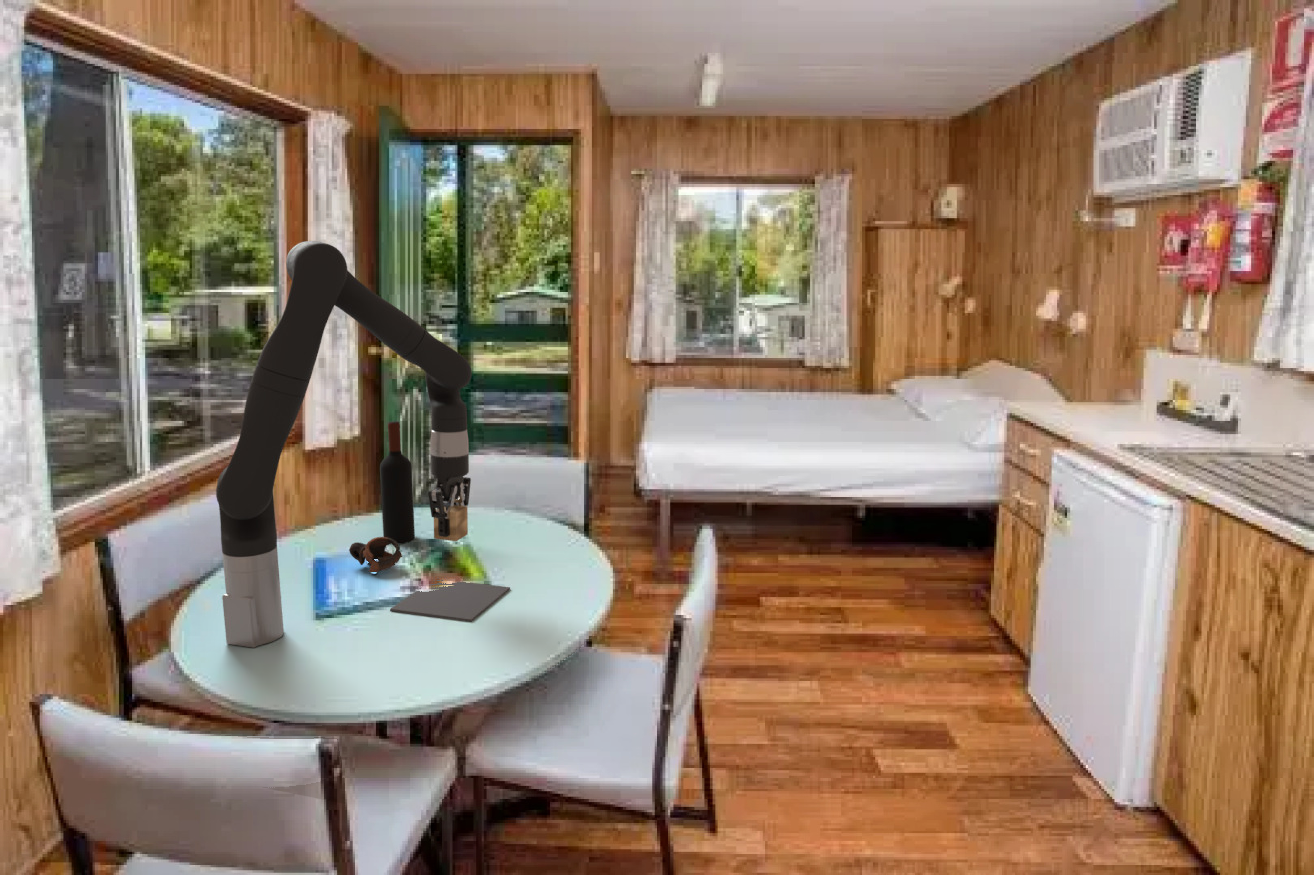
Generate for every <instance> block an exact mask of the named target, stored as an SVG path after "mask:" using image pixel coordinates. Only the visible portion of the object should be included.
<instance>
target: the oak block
mask: <svg viewBox="0 0 1314 875" xmlns="http://www.w3.org/2000/svg"><path fill="white" fill-rule="evenodd" d="M444 510H445V511H446V507H444ZM436 512H437V508H436ZM468 514H469V513H468V506H458V505H454V506H453V508H451V510H450V517H449V519H450V535H449V536H447V537H443V536H439V534H438V518H434V517H433V539H434V540H443V541H451V542H457V541H459V540H461V539H462V538H464V537H465V536H468V535H469V534H468V528H469V527H468V525H469V523H468V518H469V517H468Z"/></svg>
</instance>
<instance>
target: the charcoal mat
mask: <svg viewBox="0 0 1314 875" xmlns="http://www.w3.org/2000/svg"><path fill="white" fill-rule="evenodd" d="M434 581H435V580H434ZM437 581H440V580H437ZM441 581H443V580H441ZM466 582H467V581H462V582H457V583H452V584H446V583H445V584H444V583H443V584H442V583H437V584H430V585H454V586H448V587H446V586H445V587H444V586H443V587H439V588H438V587H437V588H436V587H435V588H431V589H439V590H435V591H434V590H433V591H429V592H422V591H421V592H420V591H417V590H416V591H414V592H413V593H411V594H410V595H408V596H407V597H405V598H404V599H403V600H401V601H400V602H398V603H396V604H395V605H393V606H392V607H391V608H389V609H390V612H394V613H403V614H409V615H410V614H411V615H417V616H418V615H419V616H425V617H433V618H440V619H447V620H455V621H461V622H473V621H475V619H476V618H478V617H479V616H480V615H481V614H482V613H484V612H485V611H486V610H488V609H489V608H490V607H491V606H492V605H493V604H495V603H496V602H497V601H498V600H499V599H500V598H502V597H503V596H504V595H505V594H506V593H508V592H509V591H510V590H511V587H509V586H503V585H502V586H501V585H493V584H485V583H478V582H477V583H476V582H470V583H466ZM421 588H422V587H420V588H419V589H421Z"/></svg>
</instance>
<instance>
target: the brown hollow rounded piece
mask: <svg viewBox="0 0 1314 875" xmlns="http://www.w3.org/2000/svg"><path fill="white" fill-rule="evenodd" d="M390 544H391V545H393V547H394V548H395V551H394V552H393V553H391V552H389V551H386V548H387V546H389V545H390ZM348 551H349V554H350V555H351V556H352V558H354V560H356V561H358V562H359V565H360V566H363V565H364V563H365V561H368V562H369V563H370V568H369V570H368V572H369V573H370V572H378V573H379V572H382V571H385V570H387V569H390V568H392V567H394V566H396V564H397V563H398V562H399V561H400V559H401V558H403V553H402V552H401V551H400V544H398V543H397V542H396V541H395V540H393V539H391V538H387V537H383V536H378V537H374V538H371V539H370V540H369V541H368V542H367V543H362V542H354V543H352V544H351V545H350V546H349V549H348ZM374 559H378V560H376V561H375V560H374Z"/></svg>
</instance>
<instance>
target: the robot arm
mask: <svg viewBox="0 0 1314 875" xmlns="http://www.w3.org/2000/svg"><path fill="white" fill-rule="evenodd" d="M285 261H286V263H285V265H286V267H285V268H286V272H287V274H288V276H289V278H290V280H291V283H290V284H291V286H290V289H289V293H288V297H287V301H286V305H285V308H284V311H283V312H282V313H283V314H282V315H281V318H280V320H279V322H278V323H277V325H276V326H275V328H274V330H273V331H272V332H271V334H270V336H269V338H268V339H267V341H266V343H265V344H264V346H263V348H262V349H261V350H262V351H261V352H260V355H259V357H258V359H257V363H256V365H255V369H254V370H253V374H252V376H251V381H250V384H249V388H248V392H247V396H246V400H245V404H244V410H243V417H242V422H241V423H242V424H241V428H240V429H241V430H240V432H239V438H238V441H237V444H236V447H235V450H234V452H233V454H232V456H231V459H230V461H229V464H228V465H227V466H226V467H225V468H224V469H223V470H222V472H221V473H220V474H219V476H218V479H217V483H216V489H215V497H216V501H217V503H218V509H219V522H220V544H221V552H222V562H223V563H222V564H223V574H224V583H225V584H224V585H225V593H224V594H223V595H222V596H221V600H222V608H223V618H224V621H223V622H224V629H225V631H224V632H225V641H226V644H227V645H234V646H241V647H246V648H254V649H255V648H257V647H258V646H262V645H266V644H269V643H272V642H274V641H276V640H278V639H279V638H281V637H282V636H283V635H284V633H285V629H284V616H283V606H282V605H283V604H282V592H281V581H280V580H281V578H280V568H279V566H280V565H279V555H278V554H279V552H278V542H277V540H278V538H277V524H276V515H275V514H276V512H275V501H274V488H275V487H274V486H275V481H276V477H277V471H278V467H279V462H280V460H281V459H280V458H281V454H282V452H283V450H284V447H285V444H286V441H287V439H289V435H290V433H291V431H292V429H293V427H294V425H295V421H296V420H297V417H298V415H299V412H300V410H301V407H302V405H303V402H304V400H305V397H306V394H307V390H308V388H309V384H310V382H311V379H312V376H313V375H312V374H313V371H314V368H315V364H316V361H317V358H318V355H319V352H320V347H321V344H322V340H323V339H322V338H323V335H324V332H325V329H326V325H327V323H328V321H329V318H330V316H331V314H332V311H333V310H334V307H336V308H338V309H339V310H341V311H342V312H344V313H345V314H347V315H348V316H349V317H351V318H352V319H354V321H356V322H357V323H358V324H359V325H361V326H362V327H363V328H364V329H365V330H367V331H368V332H369V333H370V334H371V335H373V336H374V337H375V338H376V339H378V340H379V341H380V342H381V343H383V345H385V346H386V347H388V348H389V349H390V350H391V351H393V352H394V353H395V354H397V355H398V356H399V357H401V358H403V359H404V360H405V361H406V362H408V363H410V364H412V365H415V366H417V367H419V368H420V369H421V370H423V371H424V372H425V373H424V374H425V383H426V389H427V390H426V391H427V394H428V399H429V403H430V404H429V405H430V408H431V409H430V410H431V411H430V415H431V416H430V419H431V420H430V421H431V423H430V424H431V433H430V441H429V442H430V443H429V444H430V447H429V449H430V473H431V475H432V476H433V477H435V478H436V485H435V489H434V490H429V491H428V492H427V496H428V503H429V509H430V515H431V517H432V518H433V519H434V518H438V534H439V536H443V537H447V536H449V535H450V519H449V517H450V510H451V508H453V506H454V505H458V506H467V507H468V506H469V501H470V494H471V493H470V490H471V481H472V479H471V477H467V476H466V475H468V474H469V472H470V469H469V468H470V467H469V466H470V465H469V463H470V458H469V457H470V456H469V453H470V452H469V436H468V410H467V405H466V403H465V402H464V400H462V398H461V391H460V390H461V389H463V388H465V387H466V386H468V384H469V383H470V381H471V378H472V376H473V375H472V373H473V372H472V368H471V364H470V363H469V361H468V360H467V359H466V358H465V357H464V356H463V355H461V353H459V352H457V351H456V350H455V349H453V348H452V347H450V346H448V345H447V344H445V343H444V342H442V341H441V340H439V339H437V338H436V337H434V336H433V334H431V333H430V332H429V331H428V330H426V329H425V328H424V327H423V326H422V325H420V324H419V323H418V322H417V321H415V319H413V318H411V317H410V316H409V315H407V314H406V313H404V312H403V310H401V309H400V308H398V307H396V306H395V305H393V304H392V303H390V302H389V301H388V300H386V299H384V298H383V297H381V296H379V295H378V294H376V293H375V292H374V291H372V290H371V289H369V288H368V287H367V286H365V285H364V284H363V282H361V281H360V280H359V279H357V278H356V277H355V276H354V275H353V274H352V273H351V272H350V271H349V270H348V264H347V260H346V258H345V256H344V254H343V253H342V252H341V251H340V250H339V249H338V248H337V247H335V246H334V245H331V244H329V243H326V242H322V241H317V240H307V241H302V242H299V243H297V244H296V245H294V246H293V247H291V249H290V250H289V252H288V254H287V256H286V260H285ZM444 502H445V503H444ZM444 507H446V511H445V510H444ZM436 509H437V512H436Z"/></svg>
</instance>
